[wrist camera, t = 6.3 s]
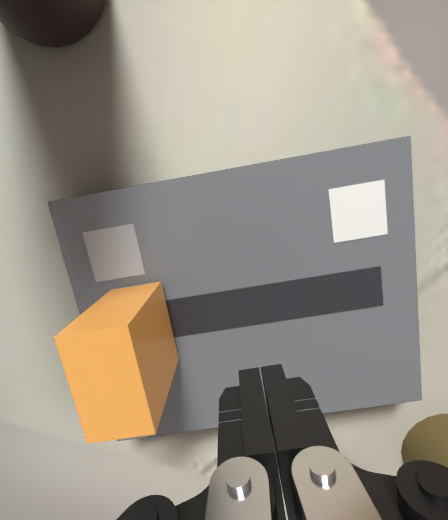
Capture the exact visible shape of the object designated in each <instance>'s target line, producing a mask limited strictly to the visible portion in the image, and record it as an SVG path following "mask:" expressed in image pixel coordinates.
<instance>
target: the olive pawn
mask: <svg viewBox="0 0 448 520" xmlns="http://www.w3.org/2000/svg"><path fill="white" fill-rule="evenodd" d="M402 457H403V461H404V463H407V462H410V461H415V460H426V461H431V462H435V463H438V464H441V465H443V466H445V467H448V414H439V415H435V416H431V417H428V418H426V419H424V420H422V421H421V422H419V423H417V424H416V425H415V426H414V427H413V428H412V429H411V430H410V431H409V432H408V434H407V435H406V437H405V439H404V441H403V445H402Z"/></svg>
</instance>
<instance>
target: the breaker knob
mask: <svg viewBox="0 0 448 520" xmlns="http://www.w3.org/2000/svg"><path fill="white" fill-rule="evenodd" d="M54 339H55V342H56V346H57V349H58V352H59V355H60V358H61V361H62V365H63V368H64V371H65V374H66V377H67V380H68V384H69V387H70V390H71V393H72V396H73V399H74V403H75V406H76V409H77V412H78V415H79V419H80V422H81V425H82V428H83V431H84V434H85V438H86V441H87V443H95V442H102V441H109V440H117V439H124V438H132V437H139V436H147V435H154V434H156V432H157V428H158V425H159V422H160V419H161V415H162V412H163V409H164V406H165V402H166V399H167V396H168V393H169V389H170V386H171V383H172V380H173V376H174V373H175V370H176V367H177V363H178V360H179V358H178V353H177V349H176V344H175V340H174V336H173V331H172V327H171V322H170V318H169V313H168V309H167V305H166V300H165V296H164V291H163V287H162V282H154V283H148V284H142V285H136V286H130V287H124V288H118V289H112V290H110V291H109V292H108V293H106V294H105V295H104V296H103V297H102V298H100V299H99V300H98V301H97V302H95V303H94V304H93V305H92V306H91V307H89V308H88V309H87V310H86V311H85V312H83V313H82V314H81V315H80V316H79V317H77V318H76V319H75V320H74V321H72V322H71V323H70V324H69V325H68V326H66V327H65V328H64V329H63V330H62V331H60V332H59V333H58V334H57V335H56V336H54Z"/></svg>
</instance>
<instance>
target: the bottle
mask: <svg viewBox="0 0 448 520" xmlns="http://www.w3.org/2000/svg"><path fill="white" fill-rule="evenodd" d="M104 1H105V0H0V22H1V23H2V24H4V25H5V26H6V27H8V28H9V29H11V30H12V31H13V32H15V33H16V34H17V35H19V36H20V37H22V38H24V39H27V40H29V41H31V42H33V43H35V44H38V45H43V46H53V47H60V46H64V45H68V44H71V43H75V42H76V41H78V40H79V39H80V38H82V37H83V36H85V35H86V34H87V33H89V32H90V30H91V29H92V27H93V26H94V24H95V23H96V21H97V20H98V19H99V17H100V14H101V11H102V8H103V4H104Z"/></svg>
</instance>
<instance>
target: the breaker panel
mask: <svg viewBox="0 0 448 520" xmlns="http://www.w3.org/2000/svg"><path fill="white" fill-rule="evenodd" d="M48 205H49V209H50V212H51V215H52V219H53V222H54V226H55V229H56V233H57V236H58V240H59V243H60V246H61V250H62V253H63V257H64V260H65V264H66V267H67V271H68V274H69V277H70V281H71V284H72V288H73V291H74V295H75V298H76V301H77V305H78V308H79V312H80V315H81V314H82V313H83V312H85V311H86V310H87V309H88V308H89V307H91V306H92V305H93V304H94V303H95V302H97V301H98V300H99V299H100V298H102V297H103V296H104V295H105V294H106V293H108V292H109V291H110V290H112V289H118V288H124V287H130V286H136V285H142V284H148V283H154V282H162V287H163V291H164V296H165V300H166V305H167V309H168V313H169V318H170V322H171V327H172V331H173V336H174V340H175V344H176V349H177V353H178V358H179V360H178V363H177V367H176V370H175V373H174V376H173V380H172V383H171V386H170V389H169V393H168V396H167V399H166V402H165V406H164V409H163V412H162V415H161V419H160V422H159V425H158V428H157V432H156V434H154V435H147V436H139V437H132V438H124V439H117V441H122V440H129V439H137V438H144V437H151V436H159V435H166V434H174V433H181V432H189V431H196V430H204V429H211V428H218V424H219V421H218V420H219V398H220V396H221V395H222V393H223V391H224V389H225V388H228V387H234V386H239V373H238V370H244V369H250V368H257V367H259V371H260V376H261V381H262V386H263V380H262V373H261V367H263V366H270V365H276V364H281V365H282V367H283V370H284V373H285V376H286V379H287V378H294V377H301V378H302V379H303V380H304V381H306V382H307V383H308V384H309V385H310V386H311V388H312V391H313V393H314V395H315V398H316V400H317V402H318V404H319V407H320V409H321V411H322V414H323V413H330V412H337V411H345V410H352V409H360V408H367V407H375V406H382V405H390V404H397V403H404V402H412V401H419V400H422V391H421V368H420V345H419V321H418V298H417V275H416V251H415V228H414V204H413V181H412V158H411V136H407V137H401V138H396V139H390V140H385V141H379V142H374V143H368V144H363V145H357V146H352V147H346V148H341V149H335V150H330V151H324V152H319V153H313V154H308V155H302V156H297V157H291V158H286V159H280V160H275V161H269V162H264V163H258V164H253V165H247V166H242V167H236V168H231V169H225V170H220V171H215V172H209V173H204V174H198V175H193V176H187V177H182V178H176V179H171V180H165V181H160V182H154V183H149V184H143V185H138V186H132V187H127V188H121V189H116V190H110V191H105V192H99V193H94V194H88V195H83V196H77V197H72V198H66V199H61V200H55V201H50V202H48ZM263 391H264V386H263ZM264 396H265V392H264ZM265 402H266V399H265ZM266 407H267V405H266ZM267 412H268V411H267Z"/></svg>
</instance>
